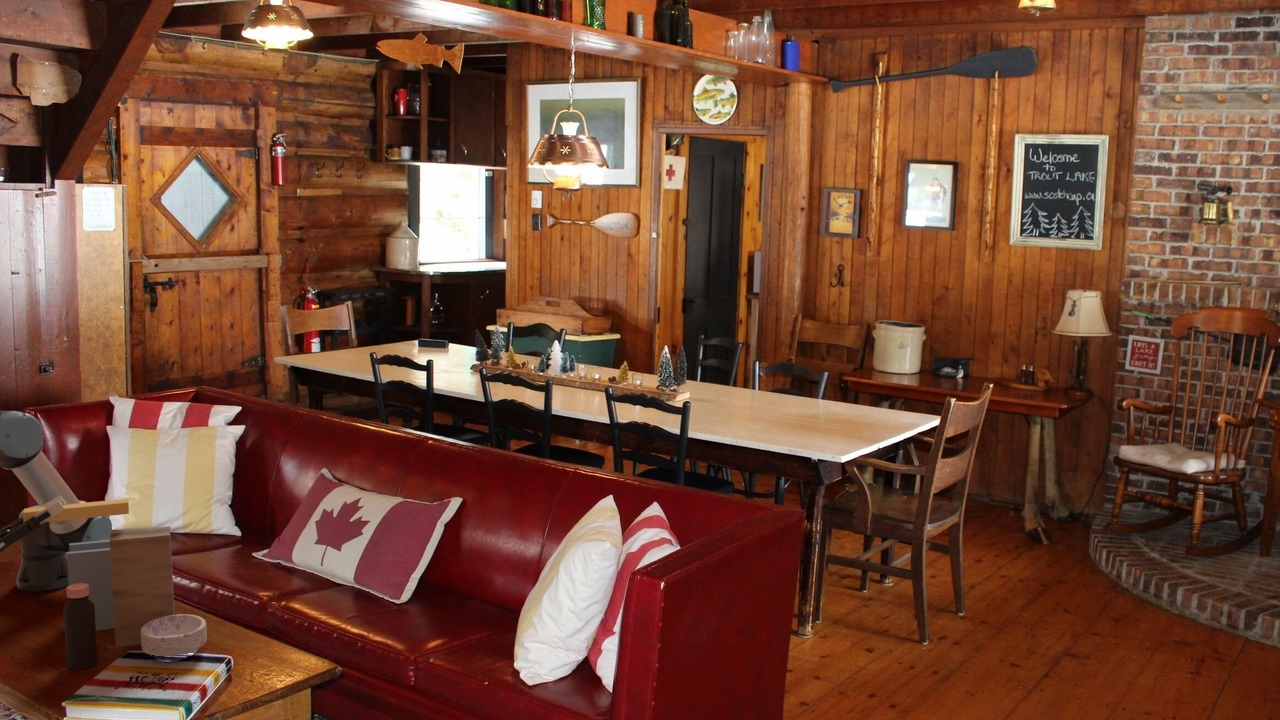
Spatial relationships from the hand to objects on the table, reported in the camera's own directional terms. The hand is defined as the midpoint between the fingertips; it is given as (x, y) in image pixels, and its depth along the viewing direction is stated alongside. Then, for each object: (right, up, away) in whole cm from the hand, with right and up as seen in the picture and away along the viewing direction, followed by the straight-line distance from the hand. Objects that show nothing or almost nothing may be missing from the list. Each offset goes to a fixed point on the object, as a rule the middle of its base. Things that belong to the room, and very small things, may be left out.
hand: (62, 502), depth 297 cm
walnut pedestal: (+18, -36, +6) cm, 41 cm away
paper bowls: (+30, -38, -4) cm, 49 cm away
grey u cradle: (+4, -34, +16) cm, 38 cm away
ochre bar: (+3, -4, +2) cm, 5 cm away
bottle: (+10, -38, -11) cm, 41 cm away
